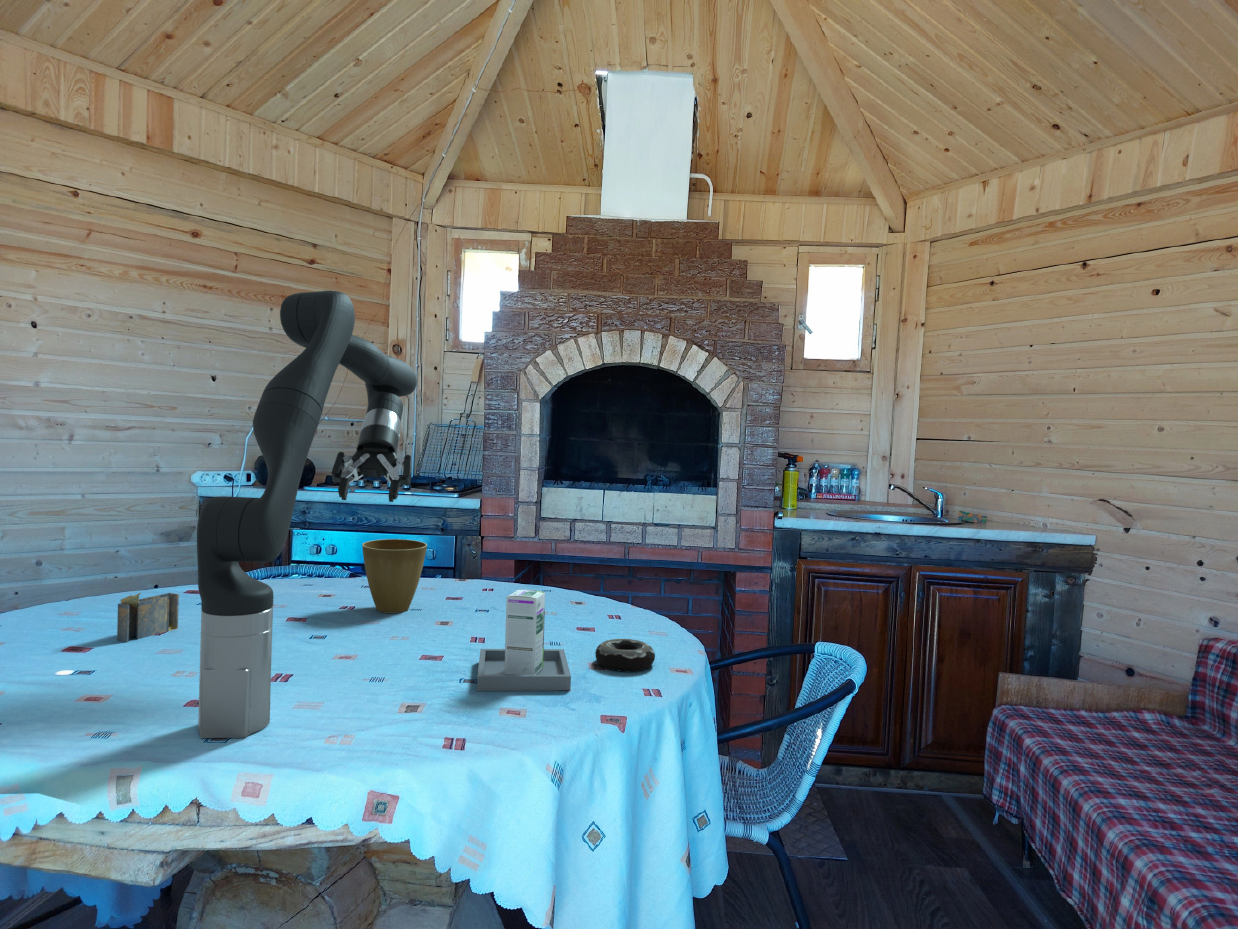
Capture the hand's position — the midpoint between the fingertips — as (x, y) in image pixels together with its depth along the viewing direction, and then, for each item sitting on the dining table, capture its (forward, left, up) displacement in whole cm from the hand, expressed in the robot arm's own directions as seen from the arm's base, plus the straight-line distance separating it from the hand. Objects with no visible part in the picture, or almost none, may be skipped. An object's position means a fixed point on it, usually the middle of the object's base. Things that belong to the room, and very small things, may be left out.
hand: (367, 498), depth 138 cm
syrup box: (-9, -30, -30) cm, 43 cm away
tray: (-9, -30, -31) cm, 44 cm away
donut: (-2, -50, -31) cm, 59 cm away
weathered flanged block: (+17, +44, -31) cm, 57 cm away
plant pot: (+39, 0, -31) cm, 50 cm away
